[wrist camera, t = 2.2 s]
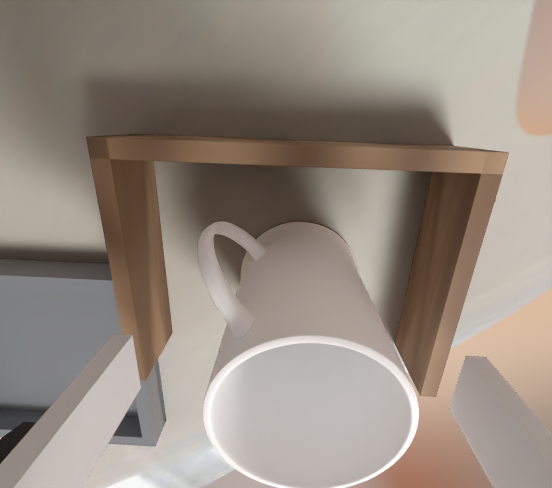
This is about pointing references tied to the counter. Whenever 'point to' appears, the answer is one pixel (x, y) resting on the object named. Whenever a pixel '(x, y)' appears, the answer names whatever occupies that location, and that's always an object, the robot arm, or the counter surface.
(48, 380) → the tray
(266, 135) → the counter surface
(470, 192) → the bay
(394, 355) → the mug
